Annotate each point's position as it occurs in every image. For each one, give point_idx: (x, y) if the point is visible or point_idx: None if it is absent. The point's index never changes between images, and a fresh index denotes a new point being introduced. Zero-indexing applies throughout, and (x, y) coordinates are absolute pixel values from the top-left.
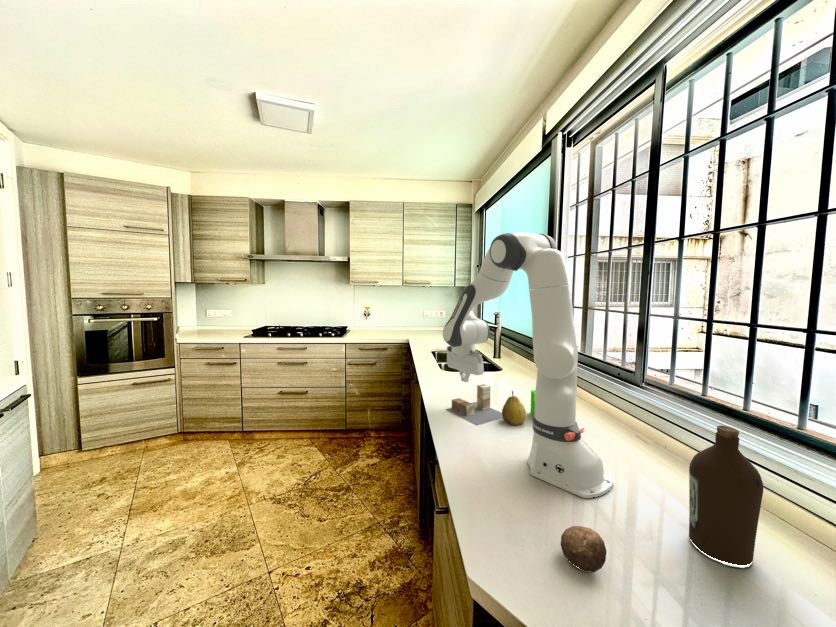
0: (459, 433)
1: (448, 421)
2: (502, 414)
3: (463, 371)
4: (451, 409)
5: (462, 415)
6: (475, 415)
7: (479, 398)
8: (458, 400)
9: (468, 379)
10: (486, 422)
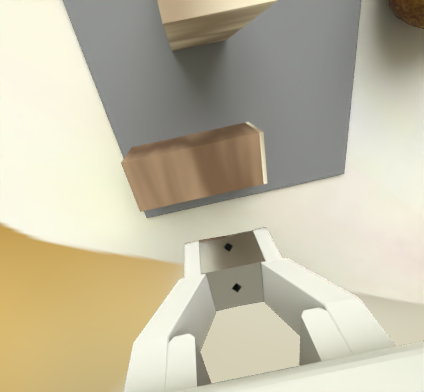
0: (343, 240)
1: None
2: (422, 26)
3: (201, 373)
4: None
5: None
6: (263, 124)
7: (197, 37)
8: (164, 184)
9: (273, 242)
10: (348, 119)
